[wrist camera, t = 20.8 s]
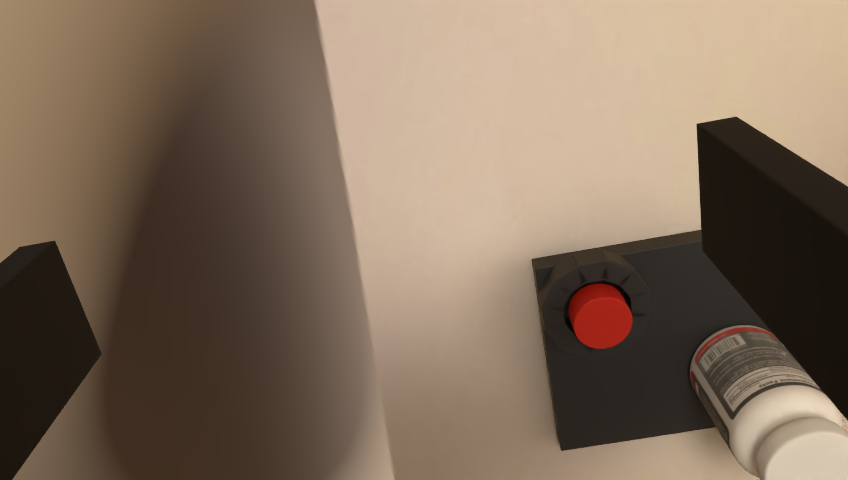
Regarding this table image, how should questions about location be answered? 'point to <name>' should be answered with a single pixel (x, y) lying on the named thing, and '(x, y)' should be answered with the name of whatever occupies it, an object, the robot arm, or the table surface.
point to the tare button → (600, 316)
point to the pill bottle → (769, 407)
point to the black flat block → (634, 338)
